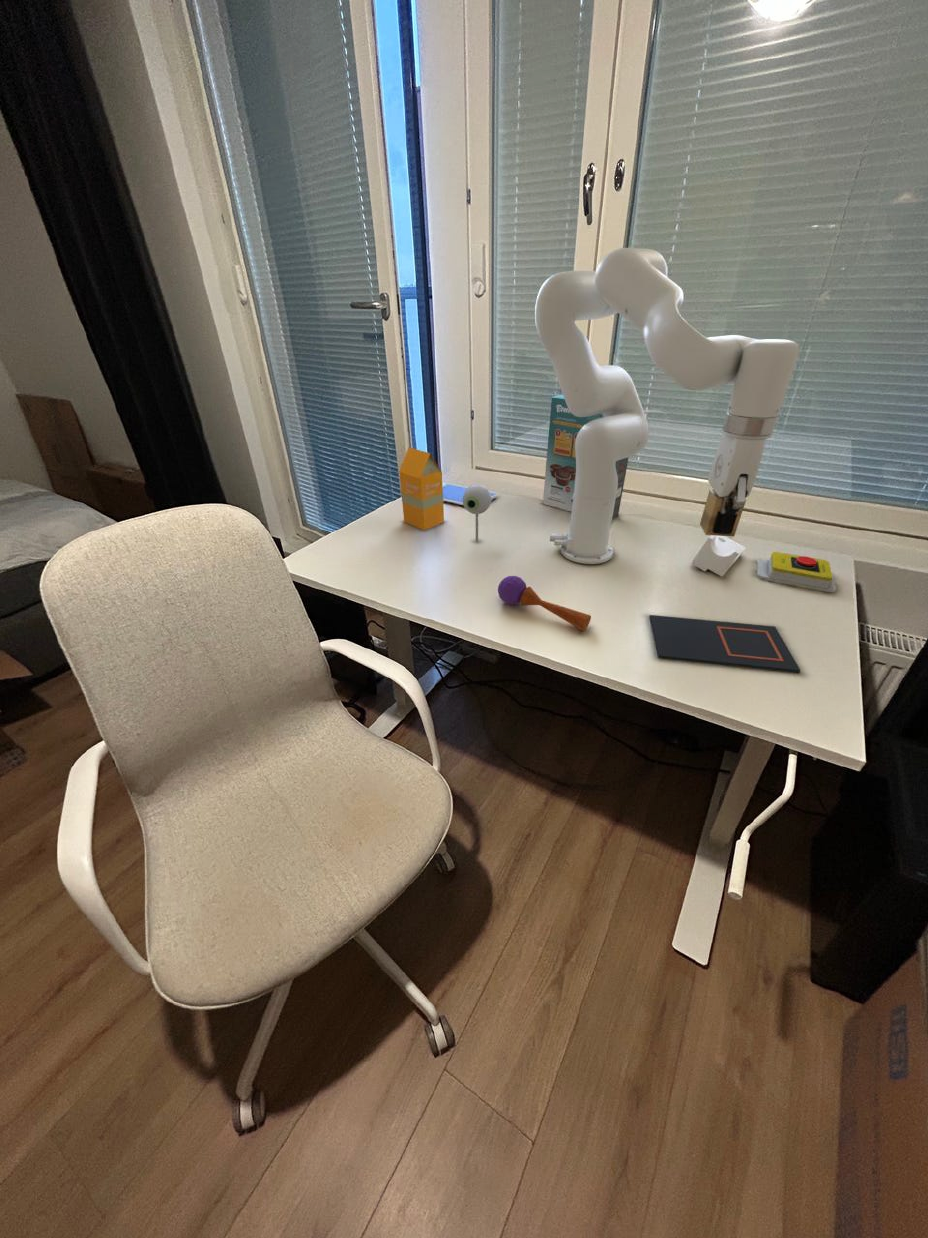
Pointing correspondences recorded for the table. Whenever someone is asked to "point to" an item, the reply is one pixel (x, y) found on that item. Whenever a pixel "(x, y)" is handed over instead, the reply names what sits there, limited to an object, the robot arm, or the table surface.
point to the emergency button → (797, 571)
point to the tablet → (456, 494)
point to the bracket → (718, 554)
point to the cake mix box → (569, 457)
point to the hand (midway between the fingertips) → (717, 525)
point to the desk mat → (721, 643)
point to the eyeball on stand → (476, 501)
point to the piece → (711, 512)
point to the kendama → (538, 601)
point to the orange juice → (421, 490)
